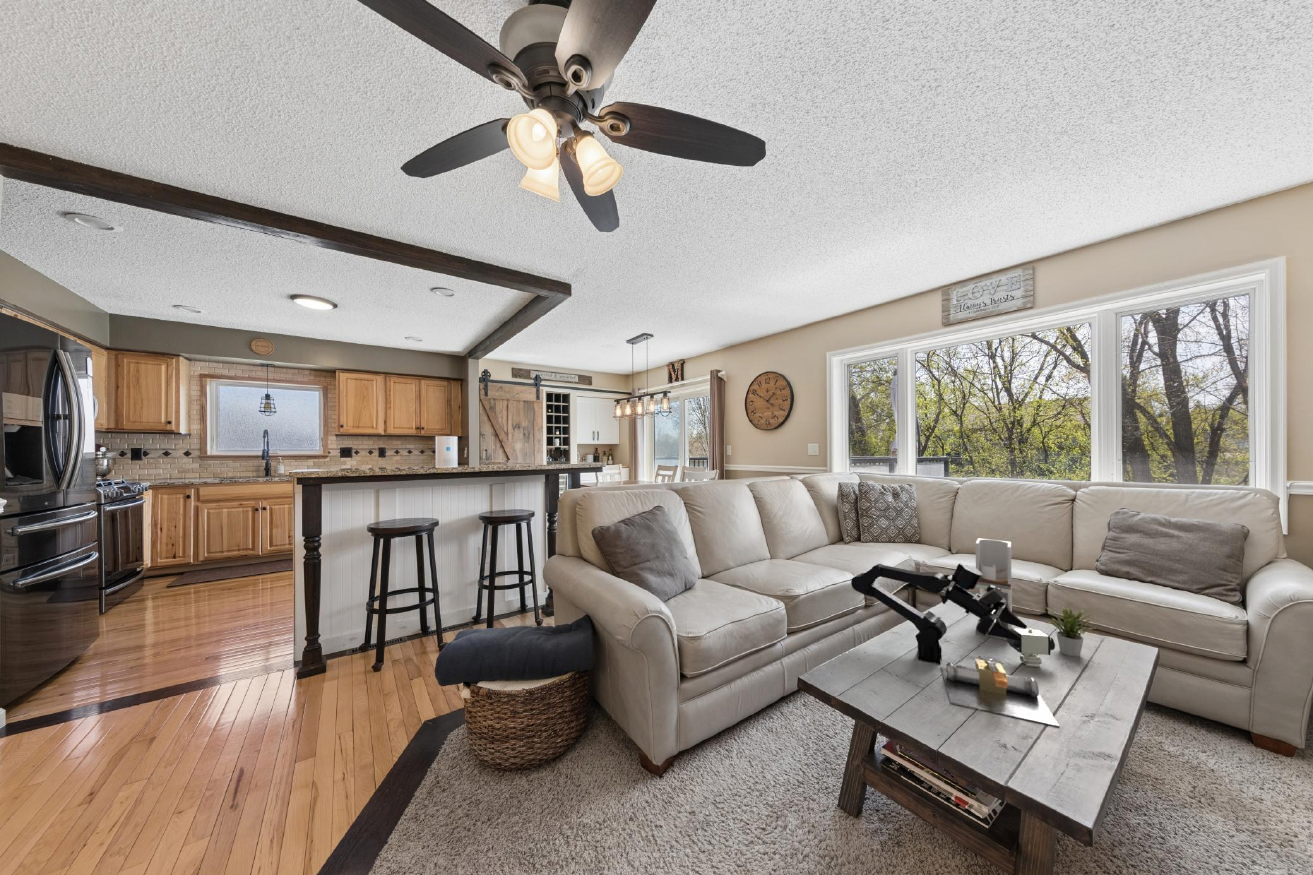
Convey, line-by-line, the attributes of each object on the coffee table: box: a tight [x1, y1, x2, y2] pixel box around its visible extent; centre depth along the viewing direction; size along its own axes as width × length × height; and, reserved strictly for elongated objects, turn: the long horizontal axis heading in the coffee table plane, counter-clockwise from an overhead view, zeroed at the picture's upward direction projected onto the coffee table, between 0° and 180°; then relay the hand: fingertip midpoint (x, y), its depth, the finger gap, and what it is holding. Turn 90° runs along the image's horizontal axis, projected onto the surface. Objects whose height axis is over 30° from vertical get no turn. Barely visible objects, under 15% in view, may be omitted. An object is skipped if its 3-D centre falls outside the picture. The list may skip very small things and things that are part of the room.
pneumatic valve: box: [1006, 627, 1056, 668], centre depth 150 cm, size 6×12×12 cm, turn 78°
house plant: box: [1045, 605, 1101, 658], centre depth 156 cm, size 14×14×16 cm
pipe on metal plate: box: [940, 658, 1060, 728], centre depth 132 cm, size 24×22×7 cm
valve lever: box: [983, 656, 1007, 688], centre depth 130 cm, size 15×3×2 cm, turn 154°
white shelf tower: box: [975, 537, 1013, 641], centre depth 175 cm, size 11×11×35 cm
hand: (1023, 633), depth 136 cm, fingers open, 9 cm apart
